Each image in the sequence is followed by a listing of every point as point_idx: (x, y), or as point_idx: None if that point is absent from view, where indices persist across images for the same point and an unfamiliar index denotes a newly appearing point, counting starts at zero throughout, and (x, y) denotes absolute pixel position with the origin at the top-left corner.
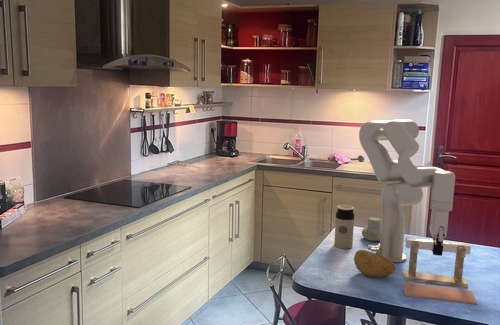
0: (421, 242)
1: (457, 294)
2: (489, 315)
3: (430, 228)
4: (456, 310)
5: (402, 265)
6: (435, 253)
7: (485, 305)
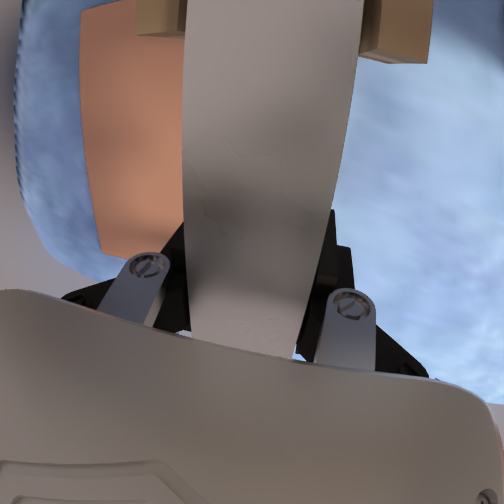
0: (188, 76)
1: (137, 212)
2: (64, 255)
3: (238, 463)
4: (47, 178)
5: (481, 56)
6: None
7: (112, 270)
